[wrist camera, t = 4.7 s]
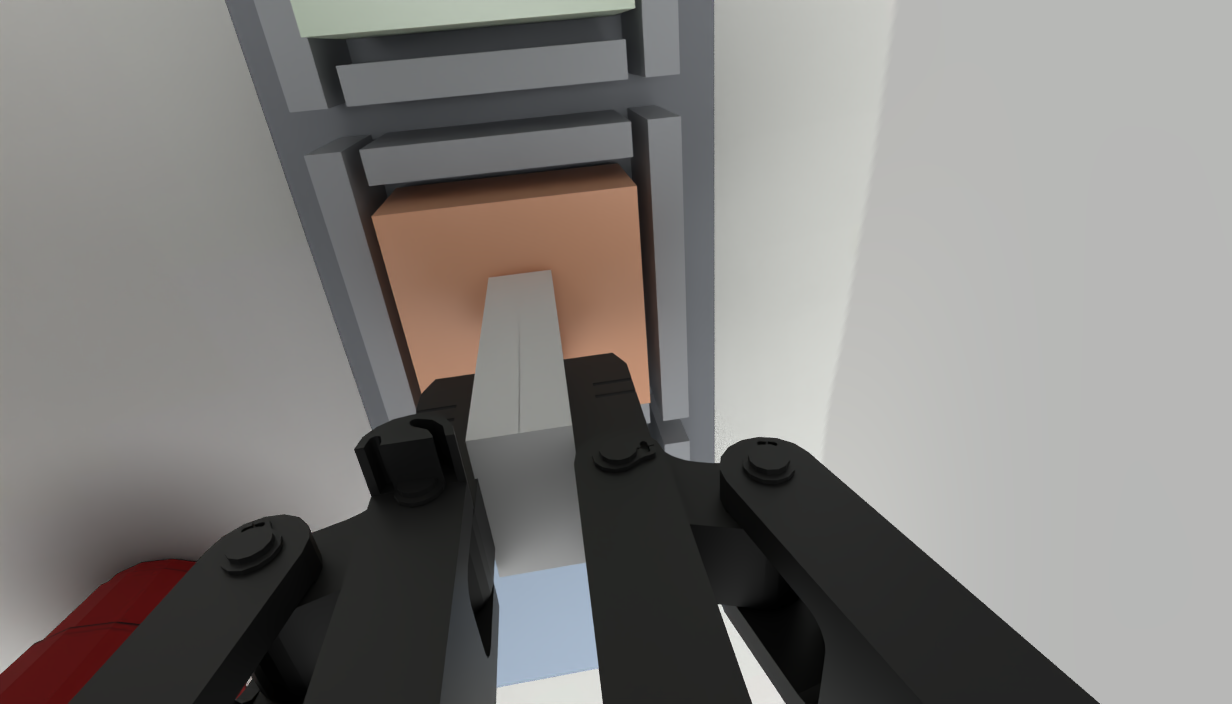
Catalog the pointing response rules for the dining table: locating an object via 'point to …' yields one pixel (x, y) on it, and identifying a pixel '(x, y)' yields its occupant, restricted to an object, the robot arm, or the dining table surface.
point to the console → (502, 165)
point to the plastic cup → (89, 635)
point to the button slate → (544, 624)
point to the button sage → (436, 15)
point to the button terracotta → (517, 262)
